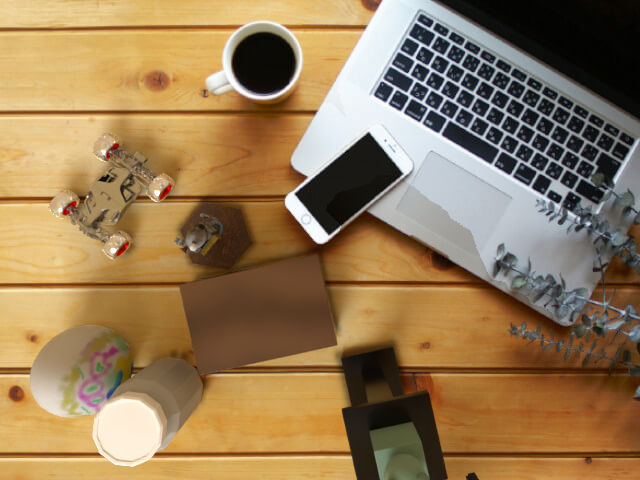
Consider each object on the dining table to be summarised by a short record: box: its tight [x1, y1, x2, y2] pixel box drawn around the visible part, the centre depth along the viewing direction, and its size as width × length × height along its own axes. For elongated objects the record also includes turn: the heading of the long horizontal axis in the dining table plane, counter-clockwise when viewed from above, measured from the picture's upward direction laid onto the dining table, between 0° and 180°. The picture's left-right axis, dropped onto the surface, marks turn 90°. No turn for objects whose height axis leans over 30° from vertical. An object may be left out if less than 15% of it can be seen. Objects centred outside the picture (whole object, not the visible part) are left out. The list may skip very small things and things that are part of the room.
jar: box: [91, 356, 204, 468], centre depth 70 cm, size 10×10×18 cm
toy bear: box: [370, 422, 430, 480], centre depth 48 cm, size 4×4×9 cm
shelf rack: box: [178, 251, 339, 377], centre depth 73 cm, size 12×18×11 cm, turn 103°
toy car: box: [48, 131, 176, 260], centre depth 76 cm, size 15×12×5 cm
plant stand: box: [340, 344, 449, 480], centre depth 65 cm, size 9×9×26 cm
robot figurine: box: [173, 201, 253, 271], centre depth 72 cm, size 11×9×12 cm
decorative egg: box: [29, 324, 134, 419], centre depth 71 cm, size 12×12×15 cm
